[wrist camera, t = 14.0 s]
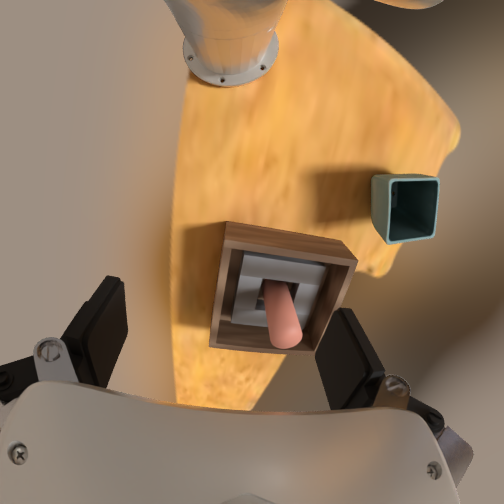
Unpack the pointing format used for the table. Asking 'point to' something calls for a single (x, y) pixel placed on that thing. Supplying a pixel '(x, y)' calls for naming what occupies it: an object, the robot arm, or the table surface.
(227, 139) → the table surface
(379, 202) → the flower pot
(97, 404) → the robot arm
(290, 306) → the peg
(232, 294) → the open box
